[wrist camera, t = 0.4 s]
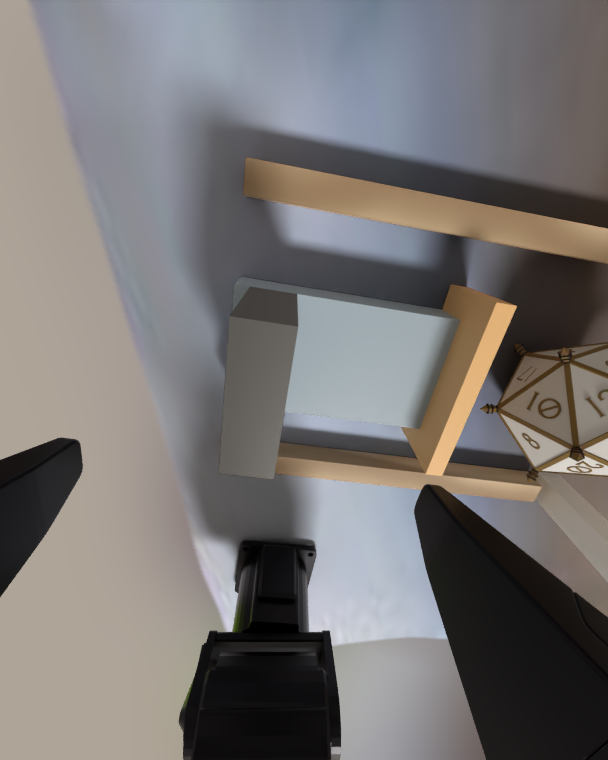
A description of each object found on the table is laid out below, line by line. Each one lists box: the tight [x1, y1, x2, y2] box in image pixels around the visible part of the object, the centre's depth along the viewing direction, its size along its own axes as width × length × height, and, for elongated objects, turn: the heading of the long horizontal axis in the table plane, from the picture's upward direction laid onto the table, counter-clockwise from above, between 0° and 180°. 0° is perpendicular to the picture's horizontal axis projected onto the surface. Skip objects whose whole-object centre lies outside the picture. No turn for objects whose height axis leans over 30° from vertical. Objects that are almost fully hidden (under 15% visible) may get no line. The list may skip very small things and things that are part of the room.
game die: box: [480, 342, 608, 483], centre depth 18 cm, size 9×8×10 cm
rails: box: [243, 157, 608, 502], centre depth 20 cm, size 18×23×2 cm
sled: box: [219, 277, 517, 479], centre depth 17 cm, size 10×13×8 cm
